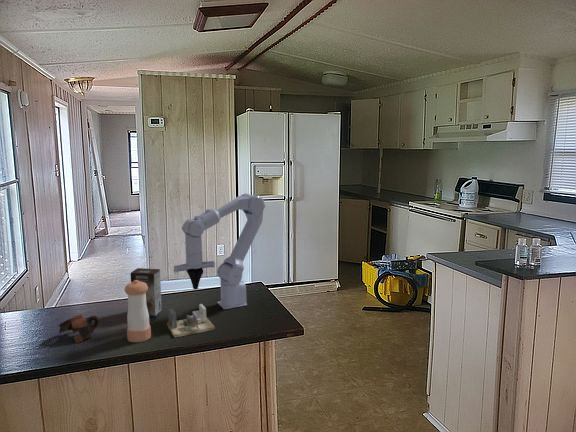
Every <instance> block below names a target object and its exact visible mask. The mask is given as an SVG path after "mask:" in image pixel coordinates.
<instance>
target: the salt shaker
mask: <svg viewBox="0 0 576 432" xmlns="http://www.w3.org/2000/svg"><path fill="white" fill-rule="evenodd" d="M147 290H148V286H147V284H146V283H145V282H141V281H138V280H134V281H133V282H131V281H130V282H129V283H127V284H126V285H125V287H124V292H125V294H126V295H127V304H128V306H127V307H128V308H127V317H126V319H127V320H126V321H127V328H126V338H127V341H128V342H131V343H142V342H145V341H148V340H149V339H150V338H151V337H152V331H151V330H152V329H151V328H152V327H151V324H150V316H149V314H148V309H147V305H146V292H147Z"/></svg>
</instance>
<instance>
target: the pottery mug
mask: <svg viewBox="0 0 576 432" xmlns="http://www.w3.org/2000/svg"><path fill="white" fill-rule="evenodd" d="M93 320H94V324H93V325H92V324H91V323H92V321H93ZM99 326H100V318H99V317H98V316H97V315H91V316H89V317H83V314H77V315H76V316H73V317H70V318H68V319H66V320H65V321H63V322H60V324H59V325H58V327H59V334H60V335H61V334H62V333H64V332H66V331H72V332H73V333H77V332H78V334H77V335H75V336H73V340H74V341H75V343H76V344H78V343H81V342H82V341H85V340H88V339H91V338H92V337H93V334H92V333H94V330H95V329H97V328H98V327H99Z"/></svg>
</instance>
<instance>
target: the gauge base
mask: <svg viewBox="0 0 576 432" xmlns="http://www.w3.org/2000/svg"><path fill="white" fill-rule="evenodd" d="M183 320H187V319H185V318H184V319H180V320H177V328H174V329H172V327H171V326H170V324H169V321H168V322H166V324H167V325H166V326H167V327H168V330H169V331H170V333H171V335H172V336H173V337H174V339H175V338H181V337H183V336H190V335H195V334H200V333H206V332H210V331H215V330H216V329H215V328H216V327H215V325H214V324H213V323H212V321H210V320H209V318H208V317H207V316H206V320H207V321H205V322H201V323H199V324H198V323H196V322H195V320H194V319H193V320H190V321H189V322H188V325H189V326H184V325H183Z"/></svg>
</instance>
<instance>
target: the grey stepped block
mask: <svg viewBox="0 0 576 432" xmlns="http://www.w3.org/2000/svg"><path fill="white" fill-rule="evenodd" d="M198 308H199V310H193V311H192V315H189V314H186V315H185V316H186V317H185V318H186V319H187V321H188V322H189V321H190V320H193V319H194V320H195V322H196V323H198V324H199V323H201V322H205V321H207V320H206V317H207V308H206V306H205V305H203V304H202V303H200V304H199V305H198Z"/></svg>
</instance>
